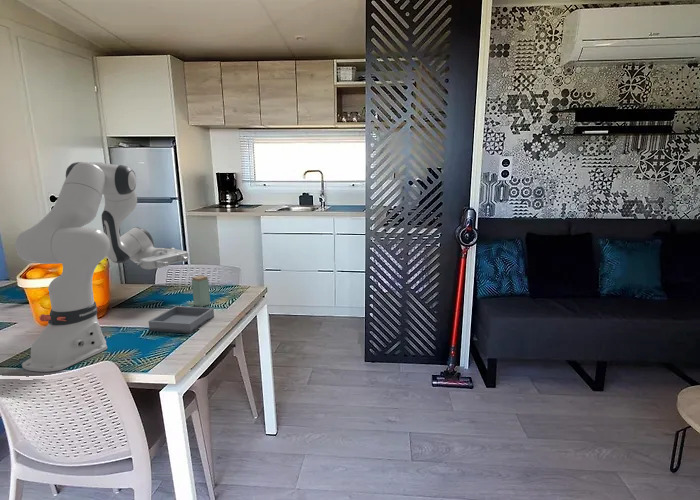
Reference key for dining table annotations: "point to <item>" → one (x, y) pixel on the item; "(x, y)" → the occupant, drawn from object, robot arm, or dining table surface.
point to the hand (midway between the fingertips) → (176, 261)
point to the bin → (181, 319)
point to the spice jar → (201, 291)
